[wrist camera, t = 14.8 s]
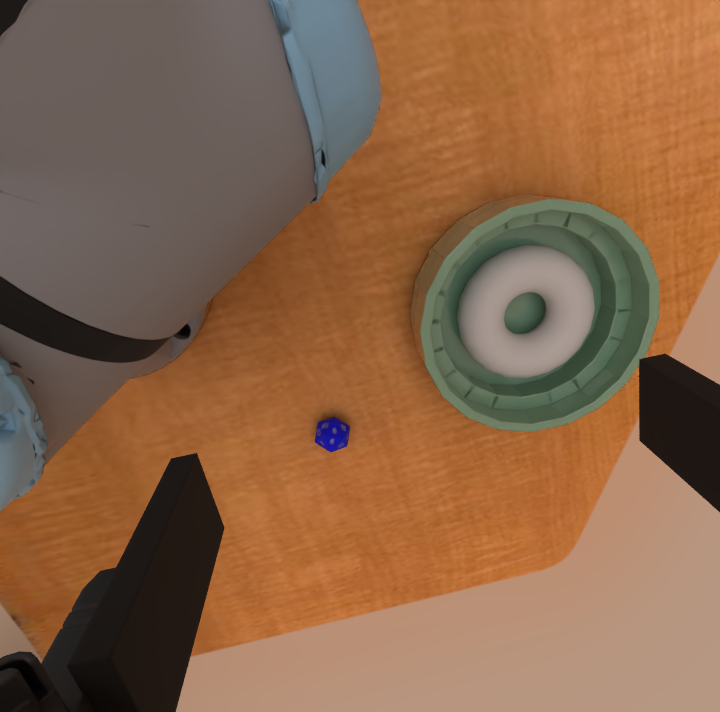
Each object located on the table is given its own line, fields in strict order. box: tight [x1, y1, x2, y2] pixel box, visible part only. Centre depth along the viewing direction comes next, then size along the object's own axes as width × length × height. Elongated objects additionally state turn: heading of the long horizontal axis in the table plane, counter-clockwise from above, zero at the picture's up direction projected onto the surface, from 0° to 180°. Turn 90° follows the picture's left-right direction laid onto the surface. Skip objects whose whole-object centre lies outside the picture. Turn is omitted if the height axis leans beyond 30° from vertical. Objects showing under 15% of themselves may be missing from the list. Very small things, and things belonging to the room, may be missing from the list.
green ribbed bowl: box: [410, 194, 659, 432], centre depth 38 cm, size 16×16×5 cm
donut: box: [457, 245, 595, 378], centre depth 38 cm, size 10×4×10 cm
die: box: [315, 417, 350, 452], centre depth 42 cm, size 3×3×3 cm
